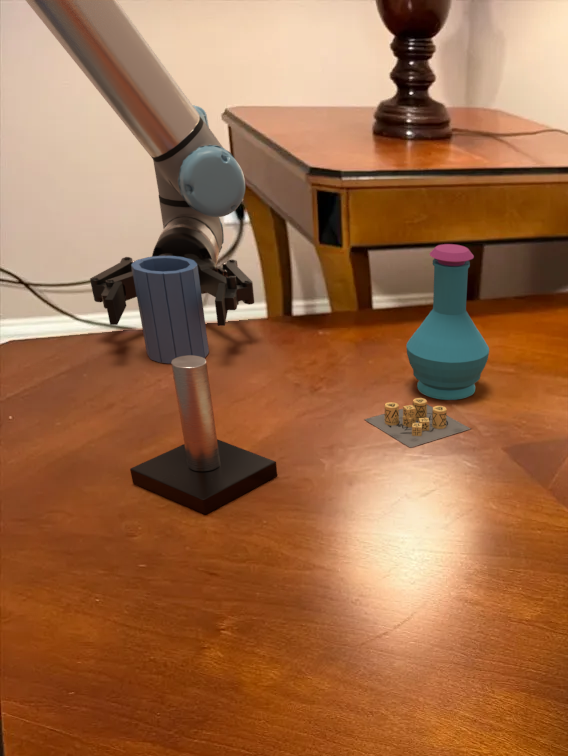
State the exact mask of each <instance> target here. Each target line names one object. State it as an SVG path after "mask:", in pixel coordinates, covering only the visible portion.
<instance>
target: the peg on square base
mask: <svg viewBox="0 0 568 756" xmlns="http://www.w3.org/2000/svg"><path fill="white" fill-rule="evenodd" d="M170 365H171V369H172V376H173V383H174V388H175V395H176V399H177V400H176V401H177V407H178V413H179V419H180V425H181V431H182V437H183V444H182V445H178V446H177V447H174V448H172V449H170V450H168V451H166V452H164V453H163V452H162V453H161V454H159V455H157V456H155V457H152V458H149V459H148V460H145V461H144V462H142V463H140V464H136V465H134V466H133V467H130V468H129V471H130V475H131V481H132V484H133V485H135V486H138V487H141V488H143V489H145V490H147V491H150V492H152V493H154V494H157V495H159V496H161V497H164V498H166V499H169V500H171V501H173V502H175V503H177V504H180V505H182V506H184V507H187V508H189V509H191V510H194V511H196V512H199V513H202V514H203V515H207V514H209V513H212V512H213V511H215V510H217V509H219V508H221V507H222V506H224V505H226V504H229V503H230V502H231V501H234V500H235V499H237V498H239V497H241V496H243V495H244V494H247V493H248V492H250V491H252V490H254V489H256V488H257V487H259V486H261V485H263V484H265V483H267V482H269V481H270V480H272V479H275V478H276V477H278V467H277V461H275V460H273V459H270V458H267V457H265V456H262V455H260V454H257V453H254V452H252V451H250V450H247V449H244V448H242V447H239V446H237V445H233V444H231V443H229V442H226V441H224V440H221V439H218V437H217V430H216V423H215V422H216V421H215V416H214V415H215V414H214V407H213V400H212V392H211V385H210V379H209V378H210V377H209V370H208V363H207V359H205V358H203V357H200V356H193V355H187V356H180V357H177V358H175V359H173V360H172V362H171V364H170Z"/></svg>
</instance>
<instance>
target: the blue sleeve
mask: <svg viewBox="0 0 568 756" xmlns="http://www.w3.org/2000/svg"><path fill="white" fill-rule="evenodd" d="M134 261H135V262H133V263H132V264H131V267H132V272H133V278H134V284H135V289H136V295H137V297H136V300H137V306H138V311H139V316H140V322H141V323H140V324H141V327H142V334H143V339H144V345H145V352H146V355H147V357H148V358H149V359H150V360H151V361H154V362H156V363H160V364H168V365H169V364H170V365H172V364H171V362H172V360H173V359H175V358H177V357H180V356H187V355H193V356H200V357H203V358H204V359H205V358H206V357H207V356H208V355H209V353H210V349H209V341H208V334H207V326H206V319H205V313H204V312H205V311H204V303H203V296H202V295H203V294H201V288H200V280H199V273H198V265H197V263H196V262H195V261H194V260H191V259H188V258H184V257H178V256H152V255H151V256H146V257H144V258H139V259H136V260H134Z"/></svg>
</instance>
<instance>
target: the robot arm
mask: <svg viewBox="0 0 568 756" xmlns="http://www.w3.org/2000/svg"><path fill="white" fill-rule="evenodd" d="M25 2H26V3H27V5H29V7H30V8H31V9H32V10H33V12H34V13H35V14H36V15H37V17H38V18H39V19H40V20H41V22H42V23H43V24H44V25H45V27H46V28H47V30H49V31H50V33H51V34H52V35H53V36H54V37H55V39H56V40H57V42H58V43H59V44H60V46H61V47H62V48H63V49H64V51H66V53H67V54H68V55H69V57H70V58H71V59H72V60H73V62H74V63H75V64H76V65H77V67H78V68H79V69H80V70H81V72H82V73H83V74H84V75H85V76H86V78H87V79H88V80H89V81H90V82H91V84H92V85H93V86H94V88H95V89H96V90H97V91H98V93H99V94H100V95H101V96H102V98H103V99H104V100H105V101H106V103H107V104H108V105H109V106H110V107H111V109H112V110H113V111H114V113H115V114H116V115H117V117H119V119H120V120H121V122H122V123H123V124H124V126H126V127H127V129H128V130H129V132H131V134H132V135H133V137H135V139H136V140H137V141H138V143H139V144H140V145H141V146H142V147H143V149H144V150H145V151H146V152H147V154H148V155H149V156H150V158H151V159H152V161H153V168H154V173H155V174H154V175H155V179H156V186H157V191H158V200H159V209H160V214H161V221H162V231H161V233H160V234H159V237H158V240H157V241H156V243H155V245H154V247H153V249H152V250H153V251H152V255H151V257H152V256H178V257H184V258H188V259H191V260H194V261H195V262H196V263H197V265H198V273H199V280H200V288H201V295H205V294H208V295H210V296H212V297H214V306H215V313H216V321H217V326H219V327H225V326H226V321H227V317H228V312H229V311H237V309H238V305H239V303H240V302H243V304H245V305H253V304H255V295H254V294H255V293H254V284H253V280H252V279H251V278H250V277H249V276H248V275H247V274H246V273H245V272H243V270H242V269H241V268H240V267H238V261H237V259H228V260H227V261H226V262H223V263H222V265H217V264H218V261H219V260H218V259H219V255H220V253H221V251H222V249H223V244H224V243H225V241H224V240H225V235H224V234H225V233H224V225H223V223H222V219H221V218H223V217H226V216H229V215H230V214H232V213H234V212H236V210H237V209H238V207H239V206H240V205H241V203H242V202H243V199H244V197H245V194H246V178H245V175H244V172H243V169H242V167H241V165H240V164H239V162H238V161H237V159H236V158H235V156H234V155H233V154H232V153H231V151H229V150H227V149H226V148H224V147H223V145H222V143H221V142H220V141H219V140H218V138H217V137H216V135H215V134H214V133H213V132H212V130H211V129H210V126H209V120H208V115H207V112H206V110H204V108H203V107H200V106H199V105H196V104H192V102H191V101H190V99H189V98H188V96H187V95H186V93H185V92H184V91H183V89H181V87H180V85H179V84H178V83H177V82H176V80H175V79H174V77H173V76H172V74H171V73H170V72H169V71H168V69H167V68H166V66H165V64H164V63H163V62H162V61H161V59H160V58H159V56H158V55H157V54H156V52H155V51H154V50H153V48H152V47H151V46H150V44H149V42H148V41H147V39H145V37H144V36H143V35H142V33H141V32H140V30H139V29H138V28H137V26H136V25H135V23H134V22H133V21H132V20H131V18H130V16H129V15H128V14H127V12H126V11H125V10H124V8H123V7H122V6H121V4H120V3H119V1H118V0H25ZM135 261H136V260H133V258H132V257H130V256H125V257H122V258H121V259H120V261H119V262H118V263H117V264H114V265H113V266H111V267H109V268H106V269H105V270H103V271H102V272H99V273H98V274H96V275H93V276H92V277H91V278H90V279H89V281H90V287H91V292H92V295H93V300H94V302H95V303H103V308H104V310H105V309H106V311H107V317H108V321H109V325H110V326H118V324H119V322H120V320H121V319H122V316H123V314H124V312H125V309H126V307H127V302H126V301H130V300H133V299H135V298H137V295H136V289H135V284H134V278H133V272H132V267H131V264H132V263H133V262H135Z"/></svg>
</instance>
